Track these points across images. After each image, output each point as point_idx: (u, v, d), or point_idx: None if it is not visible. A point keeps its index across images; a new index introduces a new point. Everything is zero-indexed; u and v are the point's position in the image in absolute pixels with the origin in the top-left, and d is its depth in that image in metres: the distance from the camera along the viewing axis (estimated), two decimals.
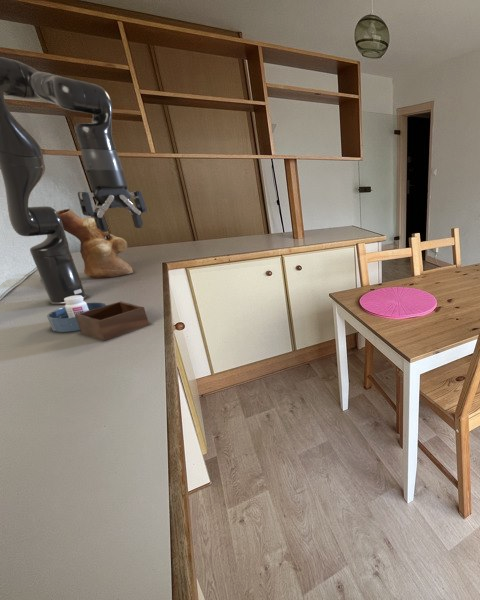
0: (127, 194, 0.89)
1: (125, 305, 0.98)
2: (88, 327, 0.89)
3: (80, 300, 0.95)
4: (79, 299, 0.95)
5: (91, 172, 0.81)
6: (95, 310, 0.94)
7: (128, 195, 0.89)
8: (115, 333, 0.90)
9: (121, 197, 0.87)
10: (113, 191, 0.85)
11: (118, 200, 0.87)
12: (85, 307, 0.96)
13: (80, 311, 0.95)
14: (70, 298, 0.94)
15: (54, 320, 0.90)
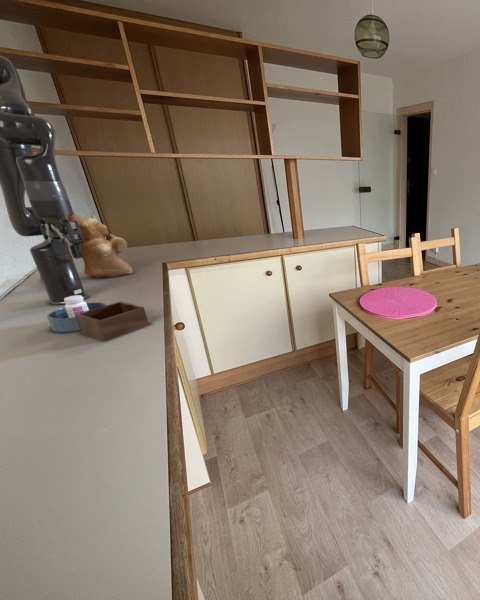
0: (59, 224, 0.85)
1: (125, 305, 0.98)
2: (88, 327, 0.89)
3: (80, 300, 0.95)
4: (79, 299, 0.95)
5: None
6: (95, 310, 0.94)
7: (60, 225, 0.85)
8: (115, 333, 0.90)
9: (52, 226, 0.86)
10: (51, 220, 0.86)
11: None
12: (85, 307, 0.96)
13: (80, 311, 0.95)
14: (70, 298, 0.94)
15: (54, 320, 0.90)
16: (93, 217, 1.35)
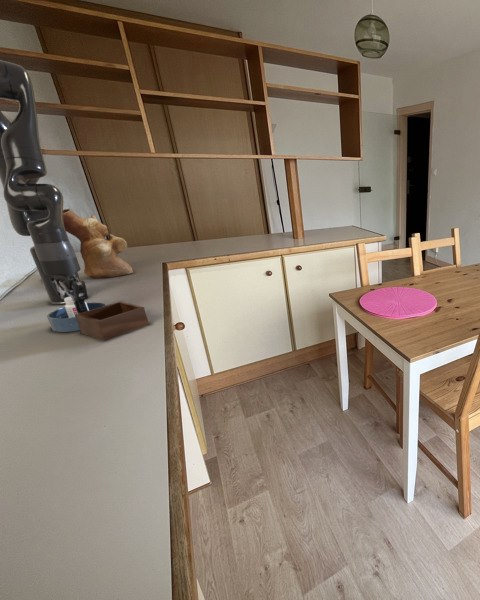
0: (67, 281, 0.91)
1: (125, 305, 0.98)
2: (88, 327, 0.89)
3: None
4: None
5: None
6: (95, 310, 0.94)
7: (67, 282, 0.91)
8: (115, 333, 0.90)
9: (60, 283, 0.91)
10: (59, 276, 0.91)
11: None
12: None
13: None
14: (70, 298, 0.94)
15: (54, 320, 0.90)
16: (93, 217, 1.35)
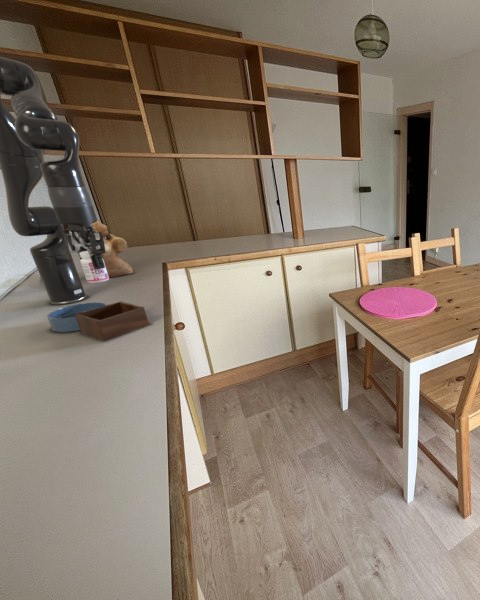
0: (83, 231, 0.83)
1: (125, 305, 0.98)
2: (88, 327, 0.89)
3: None
4: None
5: None
6: (95, 310, 0.94)
7: (84, 232, 0.83)
8: (115, 333, 0.90)
9: (75, 234, 0.83)
10: (75, 227, 0.83)
11: None
12: None
13: None
14: (86, 252, 0.86)
15: (54, 320, 0.90)
16: None
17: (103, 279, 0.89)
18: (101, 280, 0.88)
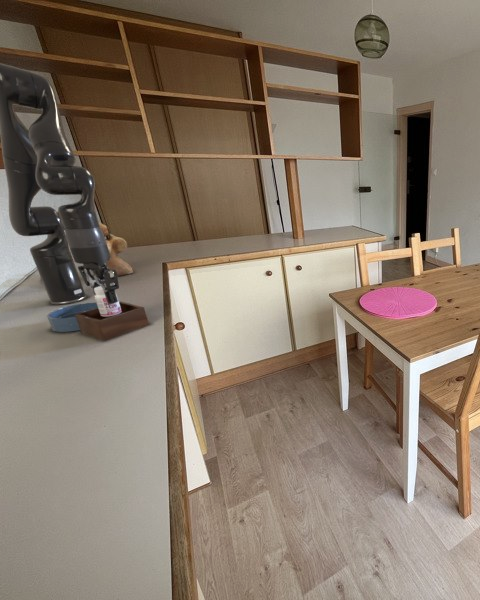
0: (98, 269, 0.86)
1: (125, 305, 0.98)
2: (88, 327, 0.89)
3: None
4: None
5: None
6: (95, 310, 0.94)
7: (98, 270, 0.86)
8: (115, 333, 0.90)
9: (90, 272, 0.86)
10: (90, 265, 0.87)
11: None
12: None
13: None
14: (100, 288, 0.90)
15: (54, 320, 0.90)
16: None
17: (116, 313, 0.93)
18: (114, 314, 0.92)
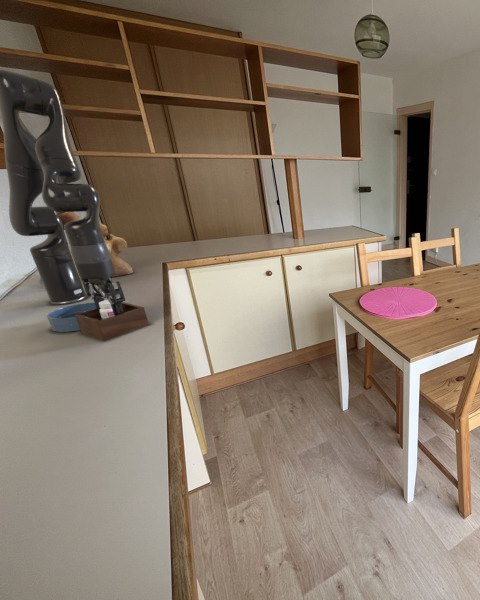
0: (102, 284, 0.88)
1: (125, 305, 0.98)
2: (88, 327, 0.89)
3: None
4: None
5: None
6: (95, 310, 0.94)
7: (103, 285, 0.88)
8: (115, 333, 0.90)
9: (95, 286, 0.88)
10: (95, 280, 0.88)
11: None
12: None
13: None
14: (105, 302, 0.91)
15: (54, 320, 0.90)
16: None
17: None
18: None
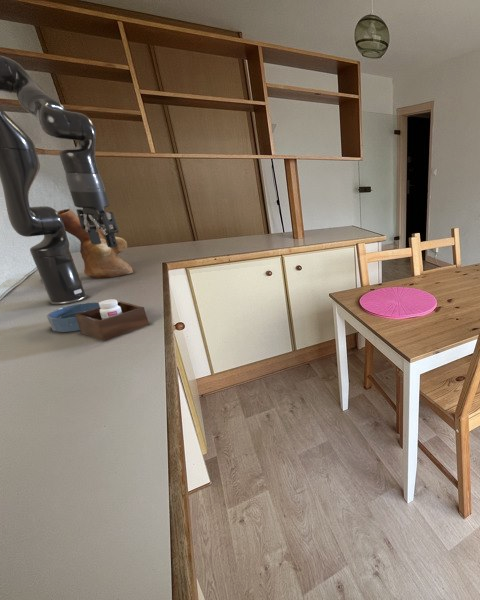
0: (96, 214, 0.90)
1: (125, 305, 0.98)
2: (88, 327, 0.89)
3: (115, 304, 0.92)
4: (114, 303, 0.92)
5: None
6: (95, 310, 0.94)
7: (97, 215, 0.90)
8: (115, 333, 0.90)
9: (89, 216, 0.91)
10: (89, 210, 0.91)
11: None
12: (119, 311, 0.94)
13: None
14: (105, 302, 0.91)
15: (54, 320, 0.90)
16: None
17: None
18: None
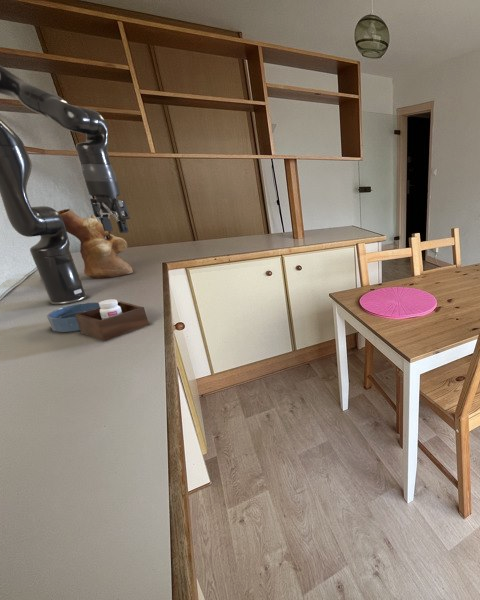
0: (109, 202, 0.99)
1: (125, 305, 0.98)
2: (88, 327, 0.89)
3: (115, 304, 0.92)
4: (114, 303, 0.92)
5: None
6: (95, 310, 0.94)
7: (110, 203, 0.99)
8: (115, 333, 0.90)
9: (103, 204, 0.99)
10: (102, 199, 0.99)
11: None
12: (119, 311, 0.94)
13: None
14: (105, 302, 0.91)
15: (54, 320, 0.90)
16: (93, 217, 1.35)
17: None
18: None
